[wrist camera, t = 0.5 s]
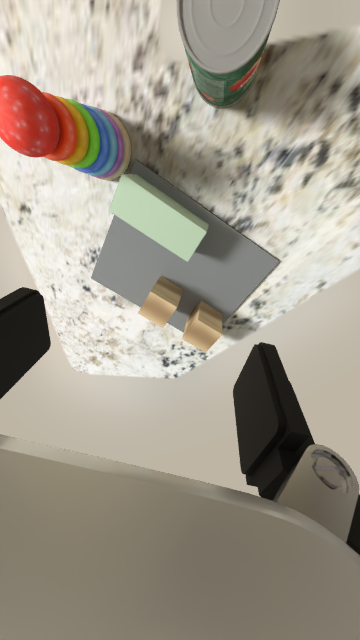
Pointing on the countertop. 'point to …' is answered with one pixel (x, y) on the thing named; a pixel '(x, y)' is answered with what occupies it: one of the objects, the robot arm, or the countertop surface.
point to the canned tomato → (225, 44)
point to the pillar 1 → (161, 302)
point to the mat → (182, 261)
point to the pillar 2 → (203, 326)
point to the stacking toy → (62, 130)
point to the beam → (157, 216)
